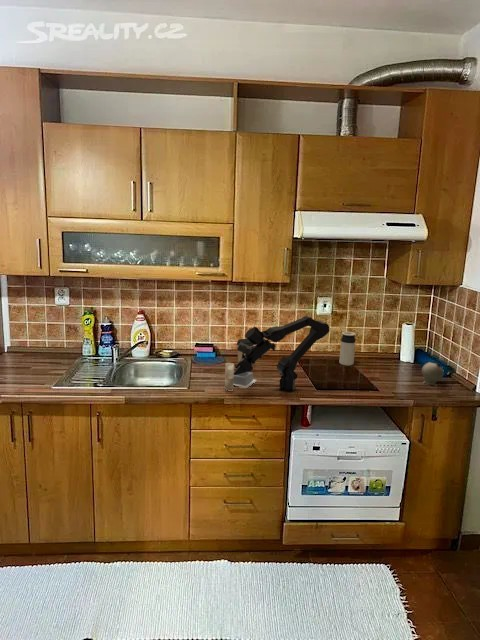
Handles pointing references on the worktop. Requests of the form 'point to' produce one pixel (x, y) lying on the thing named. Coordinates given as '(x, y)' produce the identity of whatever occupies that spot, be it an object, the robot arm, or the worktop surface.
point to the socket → (244, 379)
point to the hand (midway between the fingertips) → (235, 371)
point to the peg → (229, 376)
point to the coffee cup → (244, 343)
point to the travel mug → (347, 348)
